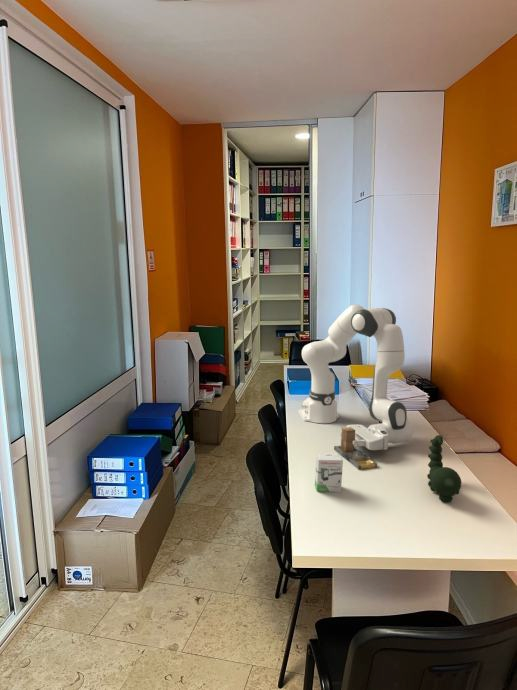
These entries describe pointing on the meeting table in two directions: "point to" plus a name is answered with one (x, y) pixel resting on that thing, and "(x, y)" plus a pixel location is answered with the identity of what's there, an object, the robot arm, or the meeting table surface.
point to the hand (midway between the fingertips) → (346, 438)
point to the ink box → (328, 472)
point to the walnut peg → (347, 439)
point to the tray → (357, 458)
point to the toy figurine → (442, 473)
